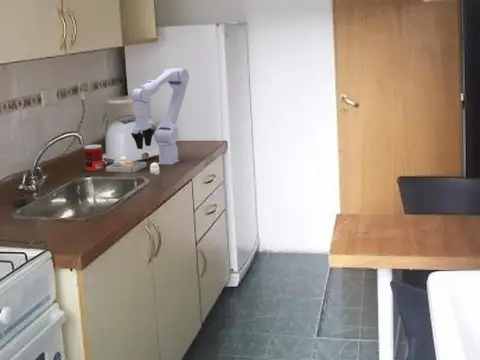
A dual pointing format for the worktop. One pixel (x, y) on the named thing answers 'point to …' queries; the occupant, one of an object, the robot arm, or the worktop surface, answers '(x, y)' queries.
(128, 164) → the brown egg
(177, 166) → the worktop surface
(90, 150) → the canned food
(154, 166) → the cream egg loose
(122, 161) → the cream egg seated
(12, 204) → the worktop surface
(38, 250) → the worktop surface
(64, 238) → the worktop surface
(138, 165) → the egg tray
